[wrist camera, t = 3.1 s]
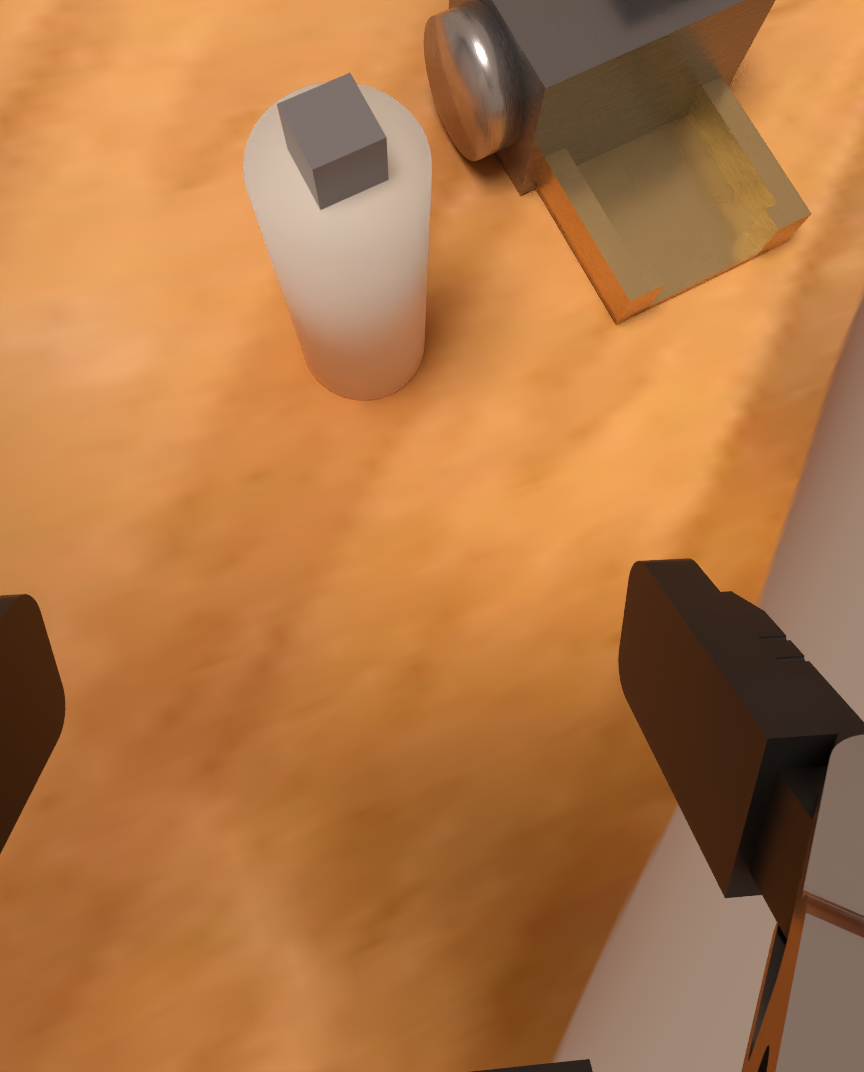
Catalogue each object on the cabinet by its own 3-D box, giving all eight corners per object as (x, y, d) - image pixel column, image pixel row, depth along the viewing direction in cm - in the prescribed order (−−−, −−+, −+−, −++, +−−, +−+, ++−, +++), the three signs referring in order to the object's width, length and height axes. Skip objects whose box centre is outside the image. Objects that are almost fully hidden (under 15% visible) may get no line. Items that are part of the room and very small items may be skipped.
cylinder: (282, 317, 31) (194, 78, 18) (390, 267, 31) (377, 3, 19) (336, 420, 30) (282, 246, 17) (445, 368, 30) (469, 162, 18)
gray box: (413, 81, 33) (414, -93, 25) (639, -17, 34) (704, -211, 26) (567, 348, 31) (617, 245, 23) (801, 234, 32) (921, 102, 24)
